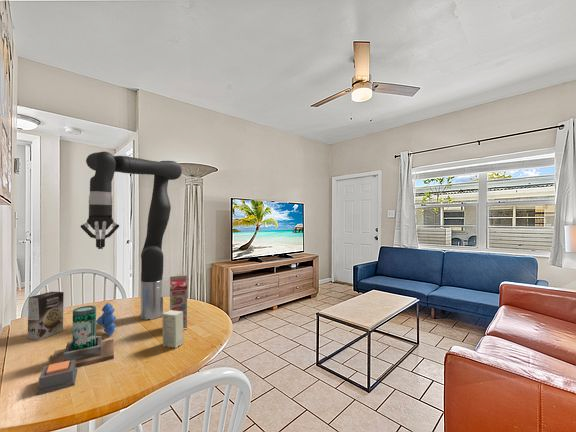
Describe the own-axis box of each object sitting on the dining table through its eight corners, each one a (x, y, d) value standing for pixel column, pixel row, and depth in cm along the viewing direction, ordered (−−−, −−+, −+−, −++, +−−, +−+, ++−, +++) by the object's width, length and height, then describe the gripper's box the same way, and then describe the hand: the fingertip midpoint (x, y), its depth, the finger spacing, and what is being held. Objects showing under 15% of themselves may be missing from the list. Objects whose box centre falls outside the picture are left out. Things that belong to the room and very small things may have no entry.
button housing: (77, 371, 84) (77, 358, 84) (74, 385, 77) (74, 370, 77) (42, 379, 80) (42, 366, 80) (36, 394, 73) (36, 379, 73)
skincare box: (183, 343, 103) (184, 311, 103) (175, 349, 99) (175, 315, 99) (170, 341, 105) (170, 309, 105) (161, 346, 101) (161, 313, 101)
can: (70, 358, 89) (70, 312, 89) (76, 350, 95) (76, 306, 95) (92, 355, 91) (93, 310, 92) (97, 347, 97) (97, 304, 97)
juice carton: (169, 325, 120) (170, 275, 120) (185, 323, 122) (186, 274, 122) (169, 331, 114) (170, 278, 114) (186, 329, 116) (187, 277, 116)
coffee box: (40, 340, 105) (40, 298, 105) (26, 338, 106) (27, 297, 106) (64, 330, 113) (64, 291, 113) (51, 329, 115) (51, 290, 115)
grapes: (92, 332, 112) (92, 303, 112) (111, 327, 117) (111, 299, 117) (99, 341, 104) (99, 309, 104) (119, 336, 109) (119, 305, 109)
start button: (69, 370, 82) (69, 360, 82) (67, 378, 78) (67, 367, 78) (49, 375, 79) (49, 364, 79) (46, 383, 75) (46, 372, 75)
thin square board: (113, 342, 103) (113, 331, 103) (113, 358, 92) (113, 346, 92) (54, 354, 94) (54, 342, 94) (46, 374, 82) (47, 360, 82)
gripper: (120, 204, 113) (120, 246, 113) (80, 203, 106) (79, 248, 106) (121, 204, 107) (120, 248, 107) (78, 203, 99) (77, 250, 99)
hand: (100, 248), depth 106 cm, fingers closed
